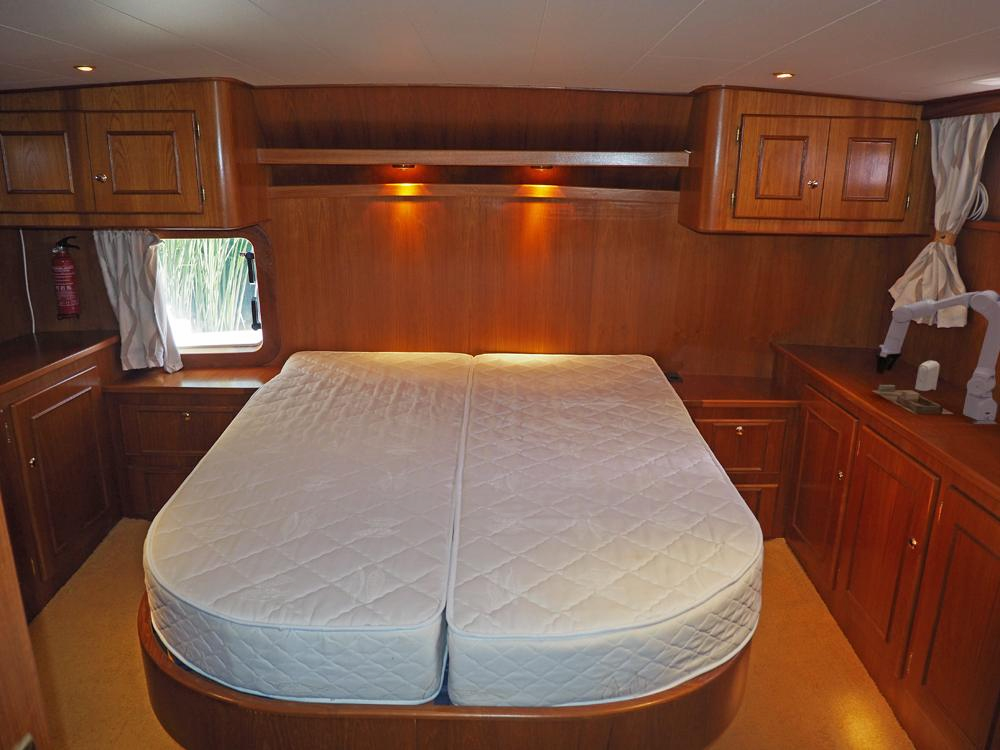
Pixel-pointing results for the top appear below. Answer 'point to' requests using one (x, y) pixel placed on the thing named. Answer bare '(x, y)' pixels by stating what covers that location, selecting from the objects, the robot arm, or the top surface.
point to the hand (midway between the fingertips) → (883, 371)
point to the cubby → (927, 406)
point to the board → (892, 394)
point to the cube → (911, 396)
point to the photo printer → (927, 376)
